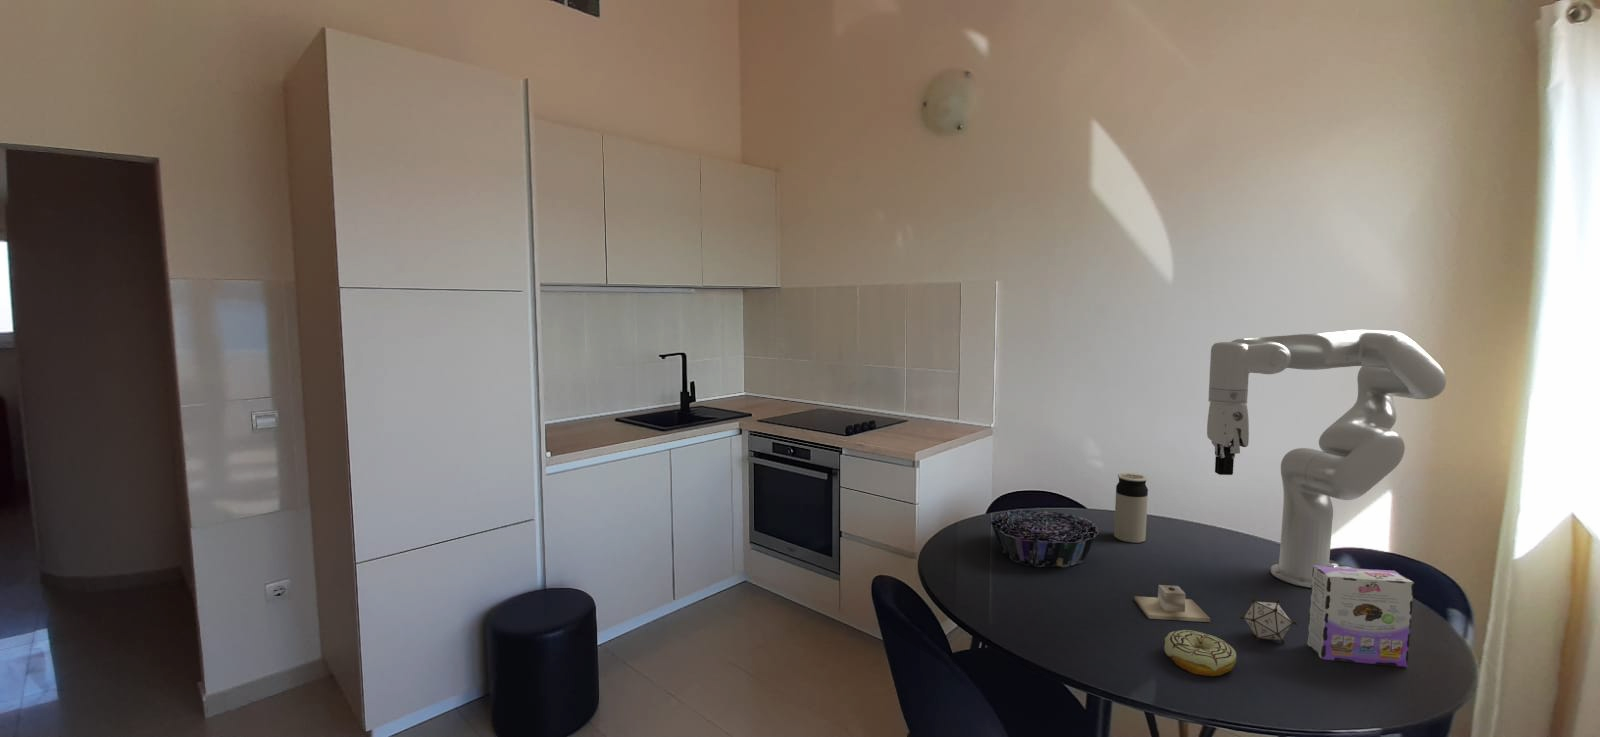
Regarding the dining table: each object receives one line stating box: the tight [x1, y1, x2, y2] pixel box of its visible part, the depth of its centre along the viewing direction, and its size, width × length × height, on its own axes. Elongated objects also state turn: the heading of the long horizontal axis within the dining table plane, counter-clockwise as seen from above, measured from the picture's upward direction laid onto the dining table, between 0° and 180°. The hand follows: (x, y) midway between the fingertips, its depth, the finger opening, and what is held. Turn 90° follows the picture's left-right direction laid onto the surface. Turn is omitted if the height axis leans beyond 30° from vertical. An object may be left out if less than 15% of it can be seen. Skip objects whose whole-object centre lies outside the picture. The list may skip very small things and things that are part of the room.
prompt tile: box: [1133, 584, 1211, 623], centre depth 145 cm, size 12×9×5 cm
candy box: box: [1306, 565, 1415, 668], centre depth 125 cm, size 14×6×16 cm, turn 77°
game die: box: [1238, 597, 1299, 645], centre depth 132 cm, size 9×8×10 cm
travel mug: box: [1113, 472, 1149, 544], centre depth 187 cm, size 8×8×18 cm
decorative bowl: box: [990, 509, 1100, 568], centre depth 177 cm, size 26×28×10 cm
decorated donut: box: [1163, 629, 1237, 677], centre depth 124 cm, size 11×12×4 cm
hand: (1223, 473), depth 155 cm, fingers closed
